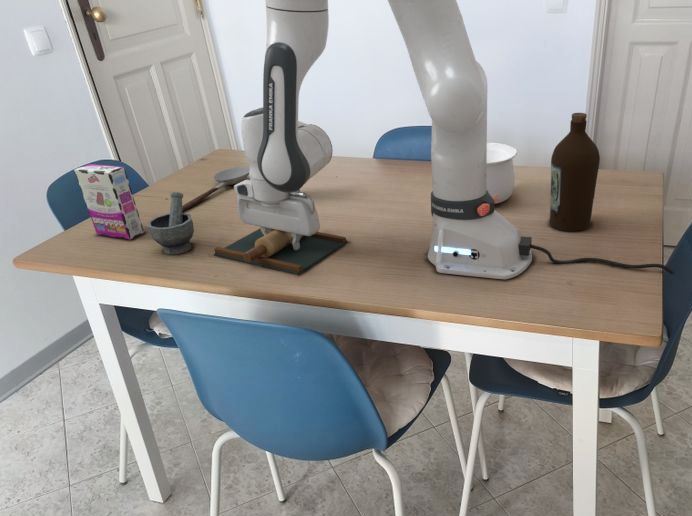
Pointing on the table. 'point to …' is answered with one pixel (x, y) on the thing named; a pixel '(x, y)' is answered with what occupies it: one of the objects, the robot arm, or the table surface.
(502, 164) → the pot
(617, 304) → the table surface
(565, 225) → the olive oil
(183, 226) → the mortar and pestle
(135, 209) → the candy bar box
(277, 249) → the rolling pin
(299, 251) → the chalkboard
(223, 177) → the spoon
